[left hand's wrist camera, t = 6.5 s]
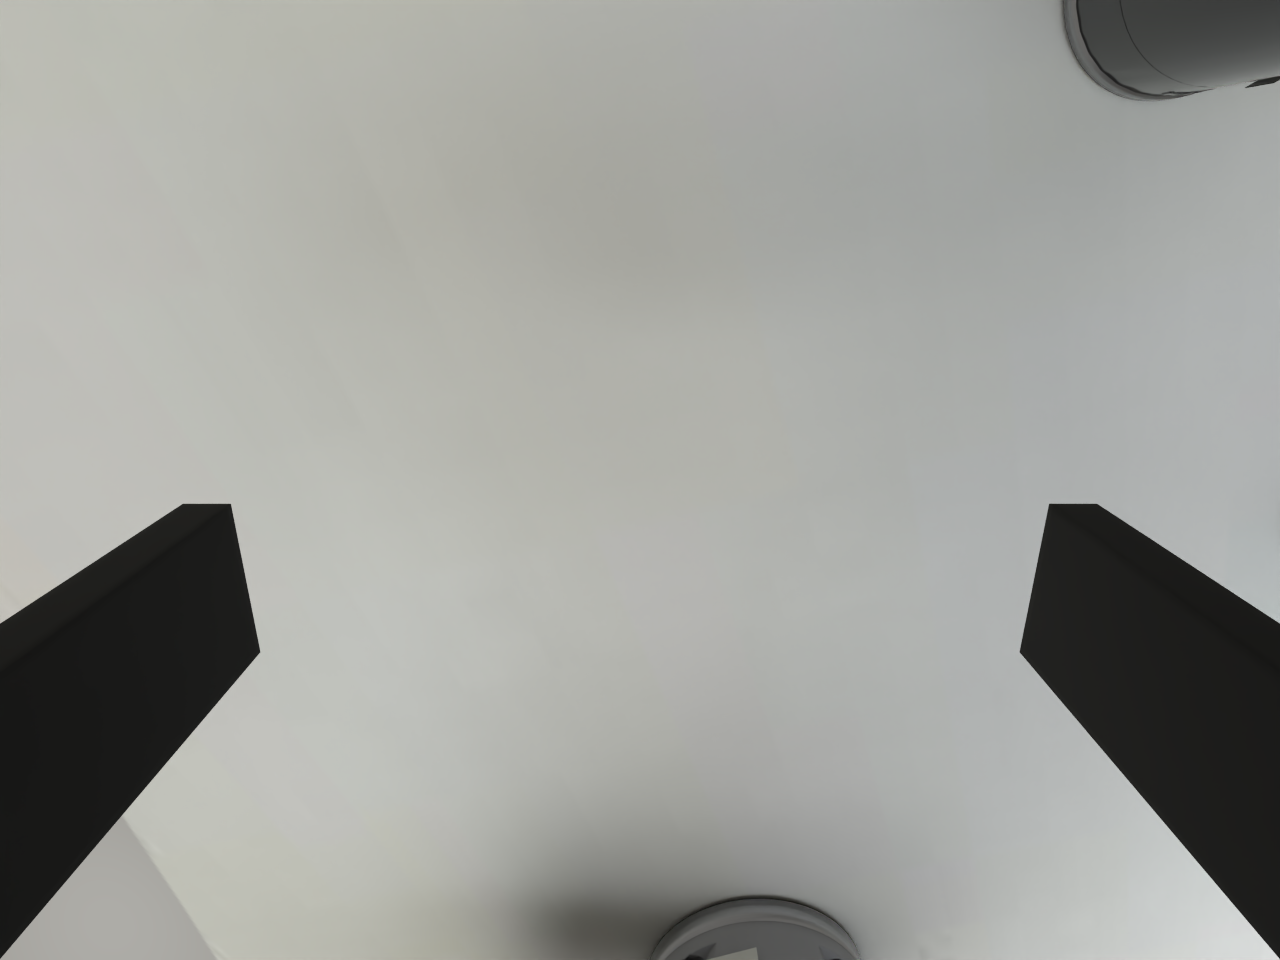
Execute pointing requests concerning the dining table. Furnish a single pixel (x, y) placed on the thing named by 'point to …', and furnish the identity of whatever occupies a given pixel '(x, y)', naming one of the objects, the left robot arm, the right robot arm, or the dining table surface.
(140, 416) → the dining table surface
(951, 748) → the dining table surface
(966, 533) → the dining table surface
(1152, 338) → the dining table surface
